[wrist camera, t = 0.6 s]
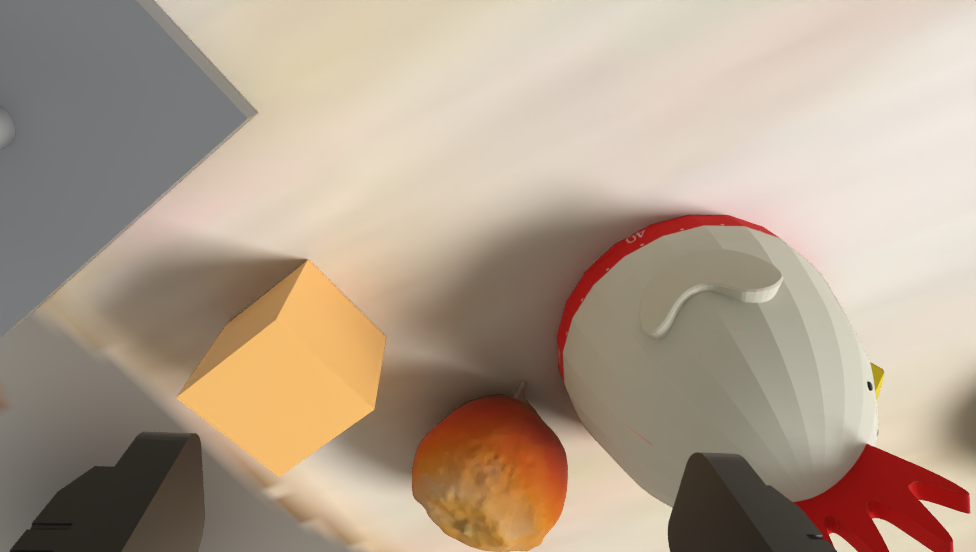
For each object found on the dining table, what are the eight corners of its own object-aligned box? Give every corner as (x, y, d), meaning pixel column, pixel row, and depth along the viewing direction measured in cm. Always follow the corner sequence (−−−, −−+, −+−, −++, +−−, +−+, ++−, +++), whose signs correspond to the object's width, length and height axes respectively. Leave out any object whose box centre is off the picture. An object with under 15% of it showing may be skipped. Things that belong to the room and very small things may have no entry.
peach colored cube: (308, 259, 28) (275, 319, 22) (386, 336, 30) (374, 409, 24) (226, 324, 29) (176, 397, 23) (307, 394, 31) (278, 477, 25)
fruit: (614, 449, 32) (574, 590, 26) (501, 451, 37) (447, 571, 31) (549, 344, 29) (488, 479, 23) (435, 361, 34) (361, 476, 28)
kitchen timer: (823, 387, 33) (1088, 644, 20) (600, 467, 35) (705, 761, 21) (785, 170, 28) (1121, 321, 14) (520, 275, 29) (592, 508, 15)
